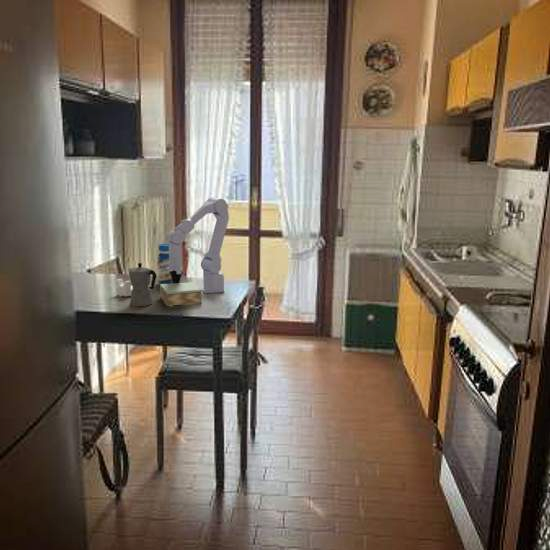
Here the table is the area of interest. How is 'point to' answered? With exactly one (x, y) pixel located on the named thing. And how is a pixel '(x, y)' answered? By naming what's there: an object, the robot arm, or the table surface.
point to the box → (181, 298)
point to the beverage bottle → (164, 265)
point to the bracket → (124, 288)
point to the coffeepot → (141, 285)
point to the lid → (180, 288)
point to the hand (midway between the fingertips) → (176, 286)
